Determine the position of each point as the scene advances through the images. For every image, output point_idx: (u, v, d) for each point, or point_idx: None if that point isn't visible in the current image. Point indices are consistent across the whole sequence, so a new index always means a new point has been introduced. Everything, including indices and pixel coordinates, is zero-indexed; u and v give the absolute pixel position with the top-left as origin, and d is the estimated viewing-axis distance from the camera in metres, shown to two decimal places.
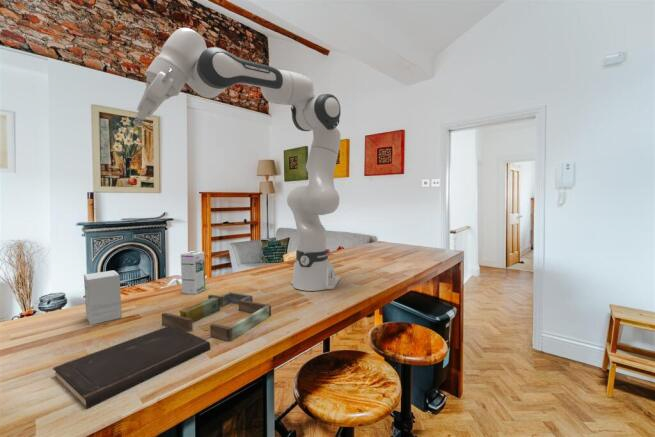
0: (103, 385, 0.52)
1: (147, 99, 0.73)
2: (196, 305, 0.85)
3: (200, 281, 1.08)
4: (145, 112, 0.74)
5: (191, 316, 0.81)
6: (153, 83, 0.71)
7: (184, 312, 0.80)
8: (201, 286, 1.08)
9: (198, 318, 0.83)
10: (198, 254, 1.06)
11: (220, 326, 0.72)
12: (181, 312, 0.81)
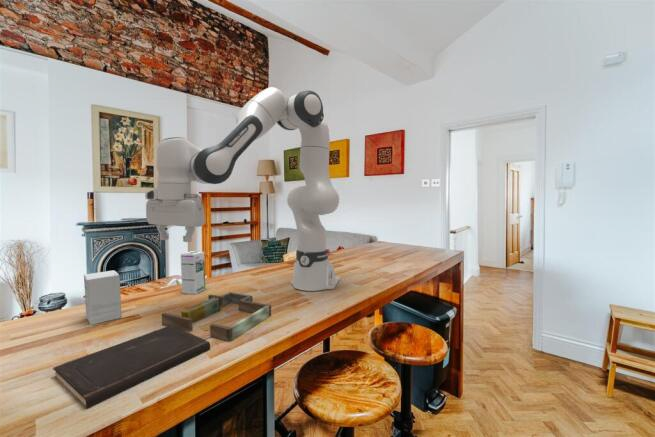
0: (103, 385, 0.52)
1: (189, 227, 0.84)
2: (197, 305, 0.84)
3: (200, 281, 1.08)
4: (190, 236, 0.86)
5: (192, 317, 0.81)
6: (196, 216, 0.82)
7: (186, 312, 0.80)
8: (201, 286, 1.08)
9: (199, 318, 0.83)
10: (198, 254, 1.06)
11: (220, 326, 0.72)
12: (182, 312, 0.80)
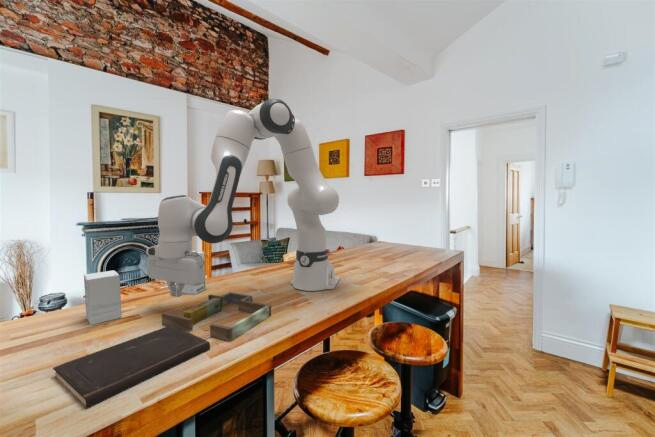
0: (103, 385, 0.52)
1: (179, 283, 0.87)
2: (199, 306, 0.84)
3: None
4: (180, 291, 0.88)
5: (195, 317, 0.81)
6: (196, 276, 0.83)
7: (188, 313, 0.80)
8: (201, 286, 1.08)
9: (201, 318, 0.83)
10: None
11: (220, 326, 0.72)
12: (185, 313, 0.80)
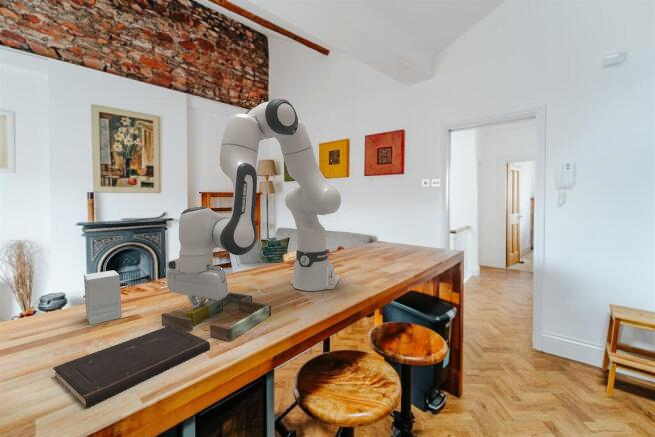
0: (103, 385, 0.52)
1: (201, 297, 0.84)
2: (201, 306, 0.84)
3: None
4: None
5: (197, 317, 0.81)
6: (219, 290, 0.81)
7: (191, 313, 0.79)
8: None
9: (204, 319, 0.83)
10: None
11: (220, 326, 0.72)
12: (187, 313, 0.80)
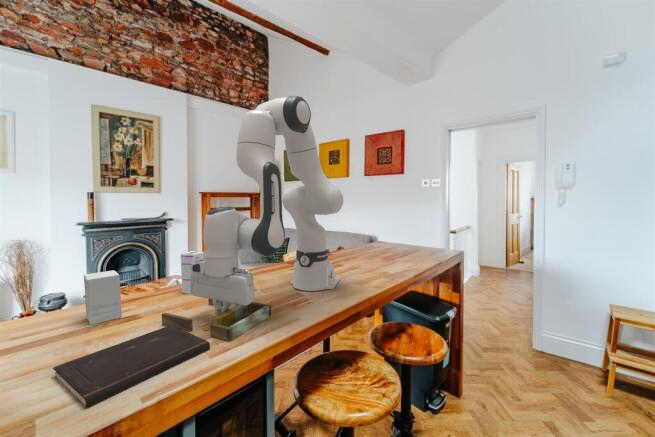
0: (103, 385, 0.52)
1: (227, 302, 0.81)
2: (227, 311, 0.80)
3: None
4: None
5: (224, 323, 0.77)
6: (247, 295, 0.77)
7: (217, 319, 0.76)
8: None
9: (230, 324, 0.79)
10: (198, 254, 1.06)
11: (220, 326, 0.72)
12: (214, 319, 0.76)
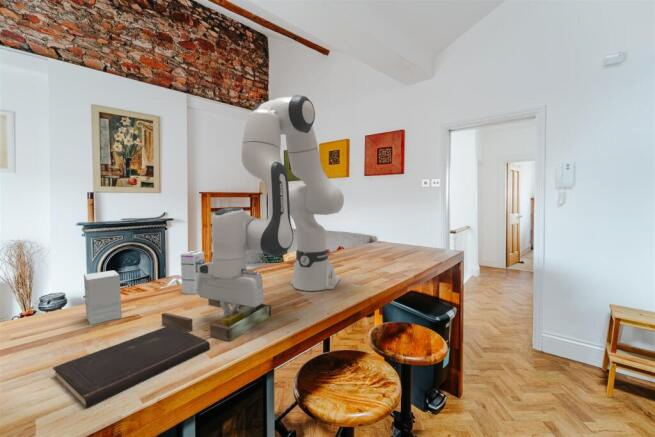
0: (103, 385, 0.52)
1: (235, 303, 0.80)
2: (236, 312, 0.80)
3: None
4: None
5: None
6: (256, 296, 0.76)
7: (227, 320, 0.75)
8: None
9: None
10: (198, 254, 1.06)
11: (220, 326, 0.72)
12: (223, 320, 0.75)
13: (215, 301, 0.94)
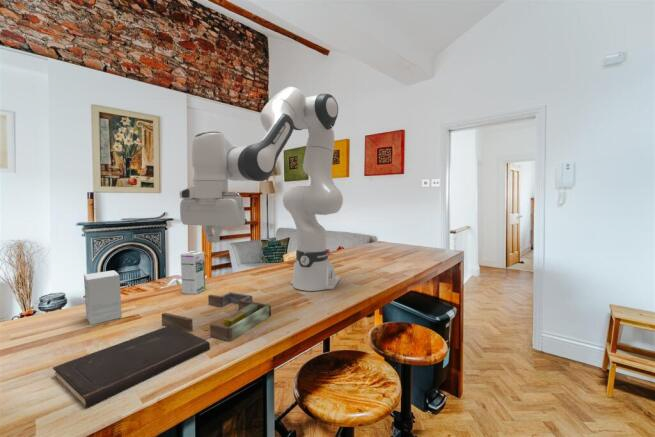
0: (103, 385, 0.52)
1: (217, 227, 0.81)
2: (238, 313, 0.79)
3: (200, 281, 1.08)
4: (218, 236, 0.82)
5: None
6: (237, 216, 0.77)
7: (229, 321, 0.75)
8: (201, 286, 1.08)
9: None
10: (198, 254, 1.06)
11: (220, 326, 0.72)
12: (226, 321, 0.75)
13: (215, 301, 0.94)
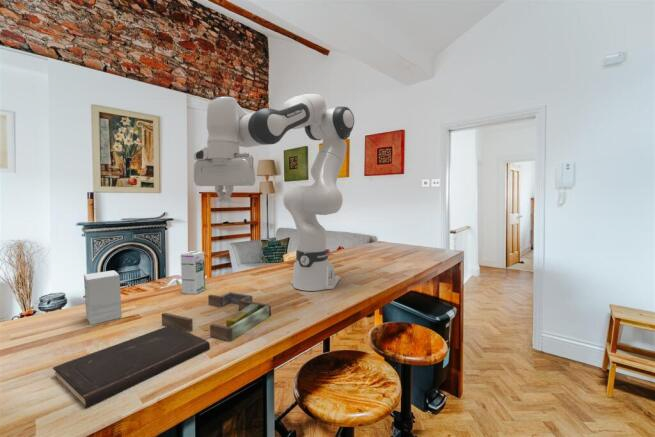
0: (103, 385, 0.52)
1: (229, 186, 0.86)
2: (240, 313, 0.79)
3: (200, 281, 1.08)
4: (229, 196, 0.87)
5: None
6: (248, 174, 0.82)
7: (232, 321, 0.75)
8: (201, 286, 1.08)
9: None
10: (198, 254, 1.06)
11: (220, 326, 0.72)
12: (228, 321, 0.75)
13: (215, 301, 0.94)
